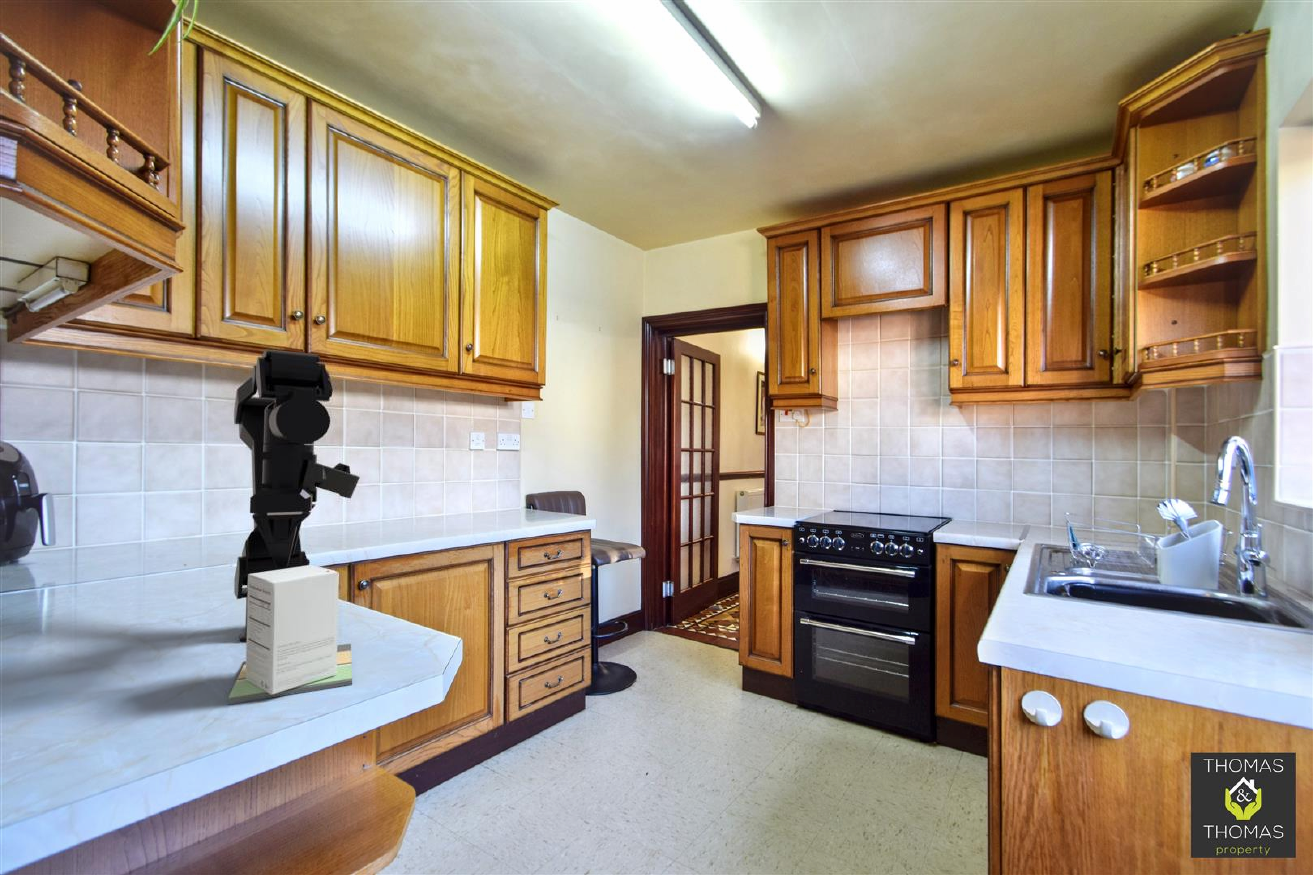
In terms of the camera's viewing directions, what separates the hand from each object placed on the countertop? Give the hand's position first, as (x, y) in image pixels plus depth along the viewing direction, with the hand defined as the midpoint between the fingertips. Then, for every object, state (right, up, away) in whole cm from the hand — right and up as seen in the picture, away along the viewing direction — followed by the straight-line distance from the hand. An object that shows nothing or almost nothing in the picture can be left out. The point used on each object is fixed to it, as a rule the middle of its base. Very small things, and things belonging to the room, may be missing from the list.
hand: (285, 561), depth 77 cm
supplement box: (+6, -12, -8) cm, 16 cm away
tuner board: (+5, -13, -5) cm, 14 cm away
